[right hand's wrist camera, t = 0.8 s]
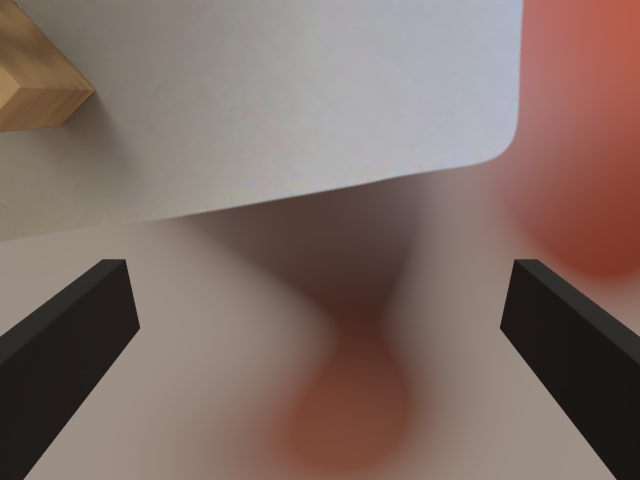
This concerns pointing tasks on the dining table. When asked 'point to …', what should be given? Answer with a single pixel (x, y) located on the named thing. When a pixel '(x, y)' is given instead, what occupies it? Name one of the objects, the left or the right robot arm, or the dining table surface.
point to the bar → (34, 76)
